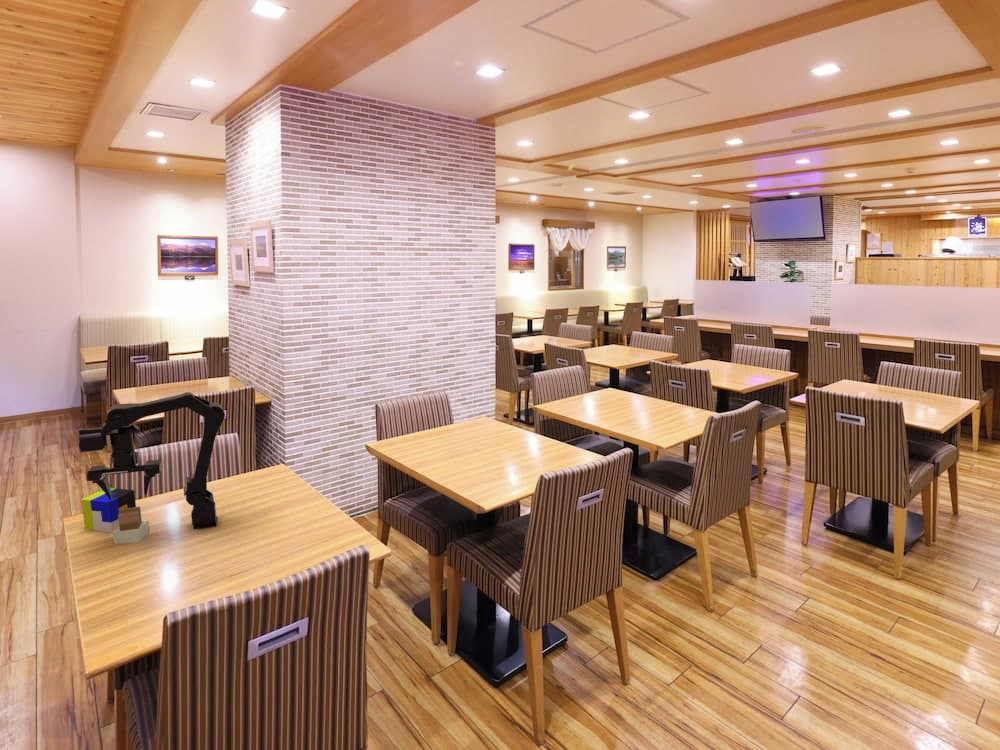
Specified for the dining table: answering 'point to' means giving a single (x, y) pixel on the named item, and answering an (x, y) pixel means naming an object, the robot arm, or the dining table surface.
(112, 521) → the puzzle toy
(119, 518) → the walnut cube
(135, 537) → the base block
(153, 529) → the dining table surface
